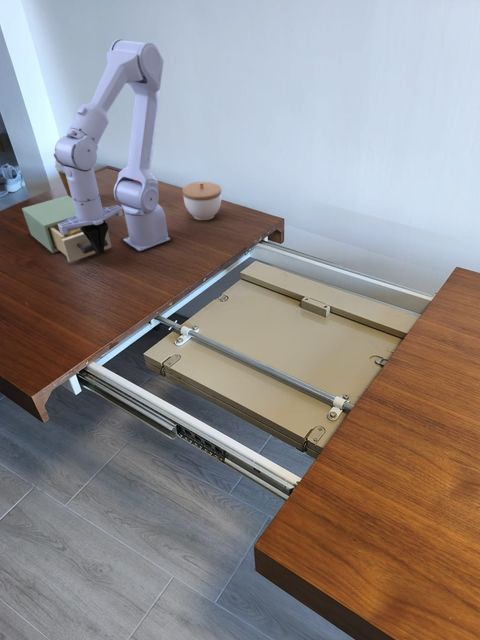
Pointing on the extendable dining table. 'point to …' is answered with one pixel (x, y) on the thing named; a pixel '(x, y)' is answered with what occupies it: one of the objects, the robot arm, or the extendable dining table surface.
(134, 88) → the robot arm
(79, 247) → the drawer
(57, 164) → the disposable coffee cup
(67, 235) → the block
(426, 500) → the extendable dining table surface
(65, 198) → the cabinet
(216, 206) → the trinket box
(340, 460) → the extendable dining table surface
